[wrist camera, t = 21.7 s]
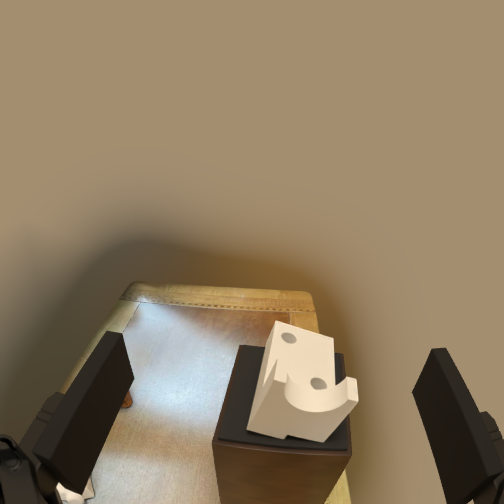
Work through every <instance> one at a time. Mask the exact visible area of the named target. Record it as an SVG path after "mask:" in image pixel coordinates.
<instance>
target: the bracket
mask: <svg viewBox="0 0 504 504" xmlns="http://www.w3.org/2000/svg"><path fill="white" fill-rule="evenodd" d="M357 402H358V392H357V381H356V379H354V378H350V377H346V378H345V379H344V380H343V381H342V382H341V383H339V384H338V385H336V386H335V364H334V343H333V338H330V337H327V336H323V335H321V334H317V333H314V332H311V331H308V330H304V329H301V328H298V327H295V326H292V325H289V324H286V323H282V322H279V321H275V324H274V326H273V328H272V331H271V333H270V335H269V338H268V340H267V342H266V347H265V351H264V356H263V361H262V365H261V370H260V374H259V379H258V383H257V387H256V392H255V396H254V401H253V405H252V409H251V413H250V418H249V422H248V426H247V430H250V431H253V432H257V433H261V434H264V435H268V436H272V437H276V438H280V439H284V438H285V437H286V436H287V435H291V436H295V437H299V438H304V439H308V440H313V441H318V442H324V441H325V440H326V439H327V438H328V437H329V436H330V435H331V433H332V432H333V431H334V430H335V429H336V428H337V427H338V425H339V424H340V423H341V422H342V421H343V420H344V418H345V417H346V416H347V415H348V414H349V413H350V411H351V410H352V409H353V408H354V406H355V405H356V404H357Z"/></svg>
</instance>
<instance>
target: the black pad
mask: <svg viewBox="0 0 504 504" xmlns="http://www.w3.org/2000/svg"><path fill="white" fill-rule="evenodd" d="M264 351H265V347H258V346H249V345H243V346H242V350H241V354H240V358H239V361H238V365H237V369H236V372H235V376H234V380H233V384H232V387H231V391H230V395H229V398H228V402H227V406H226V409H225V413H224V417H223V420H222V424H221V427H220V431H219V435H218V440H222V441H228V442H235V443H241V444H249V445H257V446H266V447H276V448H287V449H301V450H322V451H347V449H348V439H347V422H346V417H345V418H344V420H343V421H342V422H341V423H340V424H339V425H338V427H337V428H336V429H335V430H334V431H333V432H332V433H331V435H330V436H329V437H328V438H327V439H326V440H325V441H324V442H318V441H313V440H308V439H304V438H299V437H295V436H291V435H287V436H286V437H285V438H284V439H280V438H276V437H272V436H268V435H264V434H261V433H257V432H253V431H250V430H247V426H248V422H249V418H250V413H251V409H252V405H253V401H254V396H255V392H256V387H257V383H258V379H259V374H260V370H261V365H262V361H263V356H264ZM334 364H335V386H336V385H338V384H339V383H341V382H342V381H343V373H342V363H341V354H340V353H334Z"/></svg>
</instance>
